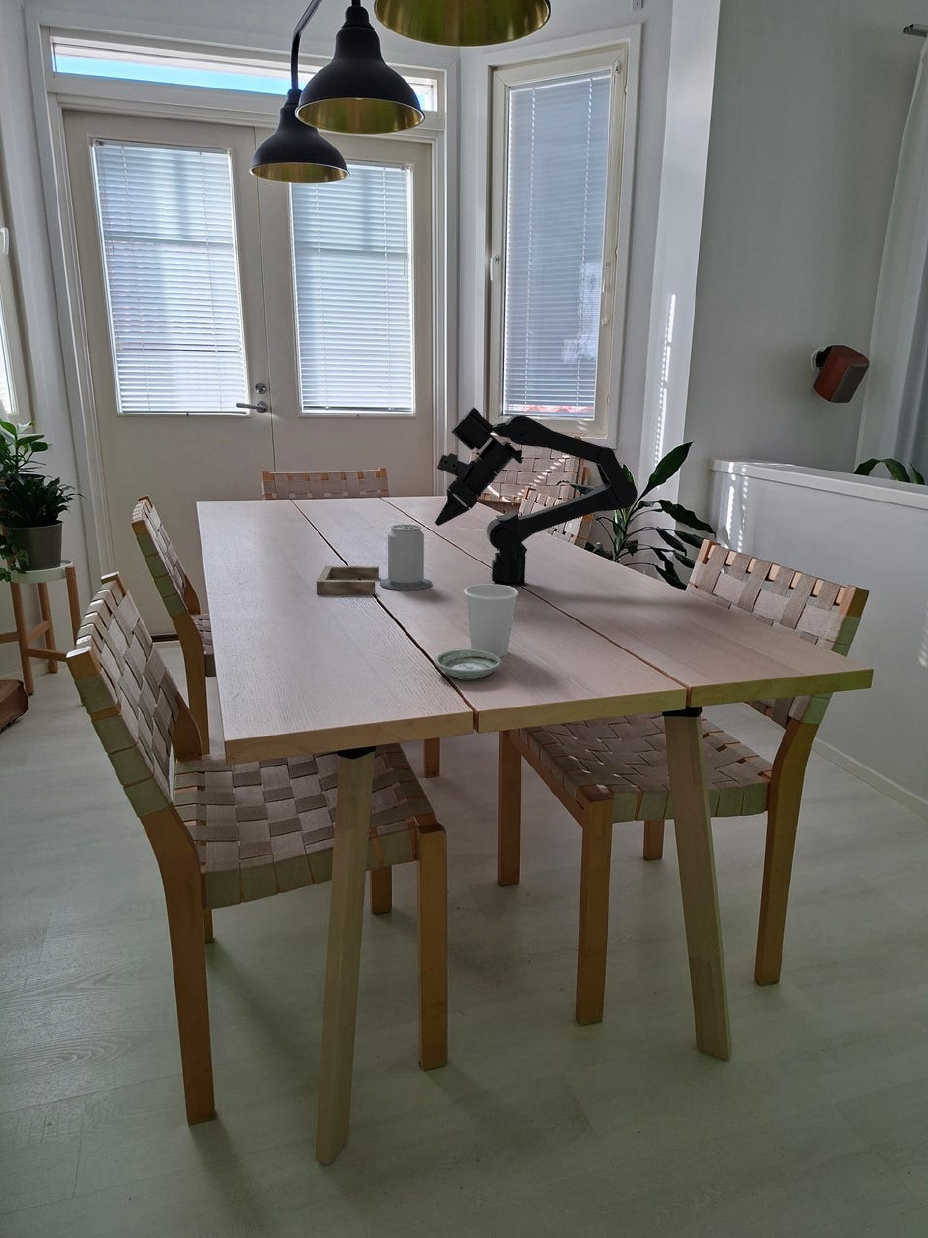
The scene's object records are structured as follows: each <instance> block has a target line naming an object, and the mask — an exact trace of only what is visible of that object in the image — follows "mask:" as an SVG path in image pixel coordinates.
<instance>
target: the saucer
mask: <svg viewBox="0 0 928 1238" xmlns="http://www.w3.org/2000/svg"><path fill="white" fill-rule="evenodd" d="M433 662H434V665H435V666H437V667H438V668H439V670H441V671H442V672H444V673H445V674H446V675H448V676H451V677H453V678H456V679H458V678H461V679H460V680H465V679H472V680H476V679H475V678H479V679H482V678H483V677H485V676H488V675H490V674H492V673H494V672H495V670H497V669H498V668H499V667H500V666H501V665H502V659H501V658H500V657H498V656H497V655H495V654H493V653H490V652H487V651H483V650H476V649H471V648H459V649H456V648H455V649H450V650H445V651H443V652H441V653H439V654H437V655H436V656H435V657H434V661H433Z"/></svg>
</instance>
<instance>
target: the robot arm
mask: <svg viewBox="0 0 928 1238" xmlns="http://www.w3.org/2000/svg"><path fill="white" fill-rule="evenodd" d="M450 433H451V434H453V436H454V437H456V438H457V440H459V441H460V442H461V443H462V444H463V445H464V446H466V448H467V449H469V450H470V451H473V450H475V449H476V450H477V451H480V450H481V449H482V448H483V447H484V446H485V447H484V449H482V450H481V452H480V453H479V454H478V455H477V456H476V457H475V459H473V460H470V462H469V463H466V462H464V461H461V460H459V455H457V454H456V453H455V454H454V453H452V452H450V453H449V454H448V455H446V454H443V453H442V454H441V456H440V458H439V461H438V463H437V467H436V469H437V470H438V471H440V472H441V471H442V472H446V473H449V474H451V475H453V476H456V479H455V480H453V481H452V482H451V483H450V485H449V486H447V489H446V499H447V500H446V502H445V504H444V506H443V507H442V509H441V511H440V513H439V514H438V516H437V518H436V519H435V521H434V524H435V525H436V526H437V527H440V526H442V525H443V524H446V523H447V522H449V521H451V520H453V519H455V518H457V517H459V516H461V515H463V514H465V513H467V512H469V511H470V510H471V509H472V508H473V507H474V506H475V505H476V504H477V503H478V500H479V498H480V497H481V496H482V494H483V493H484V492H485V490H487V488H488V487H489V486H490V485H491V484H492V483H493V482H494V481H495V479H496V478H497V477H498V476H499V475H500V474H501V473H502V471H503V470H504V469H506V467H507V465H509V463H510V462H511V461H512V460H515V461H516V463H518V464H522V463H523V450H522V449H521V448H520V449H515V448H514V447H513V445H511V444H510V443H509V441H510V442H511V443H514V444H517V445H520V446H526V447H527V446H529V447H535V448H537V447H538V448H543V449H550V450H553V451H556V452H558V453H563V454H566V455H569V456H571V457H574V458H578V459H581V460H584V461H588V462H591V463H594V464H595V466H596V469H597V472H598V474H599V478H600V480H601V482H602V484H599V485H598V486H597V487H595V488H593V490H591V491H589V492H588V493H586V494H583V495H579V496H577V497H575V498H571V499H569V500H566V501H562V502H560V503H558V504H554V505H551V506H549V507H546V508H543V509H540V510H537V511H534V512H531V513H528V514H524V515H519V514H518V513H517V512H516V511H515V510H514V509H513V510H510V511H508V512H507V513H505V514H501V515H497V514H496V516H495V518H494V519H493V520H491V521H490V522H489V523H488V526H487V527H486V536H487V540H488V541H489V543H490V544H491V545H492V546H493V548H495V549H496V551H497V552H495V553H494V559H492V560H491V581H492V582H493V583H494V584H495V585H504V586H509V587H513V586H514V587H520V586H521V587H525V586H527V583H526V581H525V579H526V560H527V559H526V554H527V551H528V549H527V547H526V546H525V545H524V543H523V542H524V541H526V540H527V539H528V538H529V537H531V536H533V535H534V534H537V533H540V532H542V531H545V530H548V529H550V528H554V527H556V526H560V525H562V524H565V523H568V522H571V521H573V520H576V519H579V518H582V517H584V516H588V515H591V514H594V513H597V512H599V513H600V512H611V511H618V510H625V509H629V508H630V507H632V506H633V505H635V502H637V501H636V500H638V488H637V486H636V484H634V483H633V482H632V481H629V478H628V476H627V474H626V473H625V471H624V469H623V467H622V466H621V464H620V462H619V461H618V458H617V456H616V454H615V451H614V450H613V449H612V448H611V447H608V446H605V445H599V444H598V445H597V444H594V443H591V442H590V441H585V440H582V439H579V438H576V437H573V436H570V435H567V434H564V433H560V432H557V431H554V430H553V429H551V428H549V427H547V426H545V425H543V424H541V423H540V422H538V421H536V420H534V419H533V418H531V417H529V416H526V415H523V414H514V415H511V416H510V417H508V418H507V419H506V421H505V422H501V423H500V422H499V423H494V424H491V423H490V422H489V421H488V420H487V419H486V418H485V416H483V415H482V414H481V413H480V411H479V410H478V409H477V408H476V407H472V408H471V409H470V410H469V411H468V412H467V413H465V415H464V416H463V417H462V418H460V419H459V421H457V423H456V424H455V425H454V426H453V428H451V431H450ZM492 433H494V435H496V436H498V437H501V438H506V439H508V441H507V440H504V441H503V442H502V443H501V442H500V441H499V440H498V439H497V438H496V437H495V436H493V434H492ZM490 439H491V440H490ZM489 440H490V442H489ZM487 442H488V443H487ZM486 443H487V445H486Z"/></svg>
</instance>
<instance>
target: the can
mask: <svg viewBox="0 0 928 1238" xmlns="http://www.w3.org/2000/svg"><path fill="white" fill-rule="evenodd" d="M390 529H391V530H390V531H389V532H388V533H387V575H388V576H387V579H389V580H390V581H391V582H392V583H393V584H395V585H400V586H413V585H417V584H419V583H420V582H421V581H422V580H423V579H425V578H424V577H425V572H424V571H425V534H424V533H423V532H422V527H421V526H420V525H416V524H394V525H392V526H390Z"/></svg>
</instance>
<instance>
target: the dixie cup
mask: <svg viewBox="0 0 928 1238" xmlns="http://www.w3.org/2000/svg"><path fill="white" fill-rule="evenodd" d="M463 594H465V599H466V610H467V619H468V620H467V622H468V630H469V639H470V649H476V650H483V651H487V652H490V653H493V654H495V655H497V656H498V657H499V658H500V657H504V656H506V655H508V651H509V646H510V645H509V644H510V641H511V640H510V639H511V633H512V627H513V621H514V615H515V614H514V613H515V608H516V600H517V596H518V595H519V591H518V590H517V589H516V588H514V587H513V586H504V585H495V583H494V584H491V583H488V584H487V583H486V584H483V583H482V584H475V585H470V586H467V587H466V588H465V589H464V591H463Z"/></svg>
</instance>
